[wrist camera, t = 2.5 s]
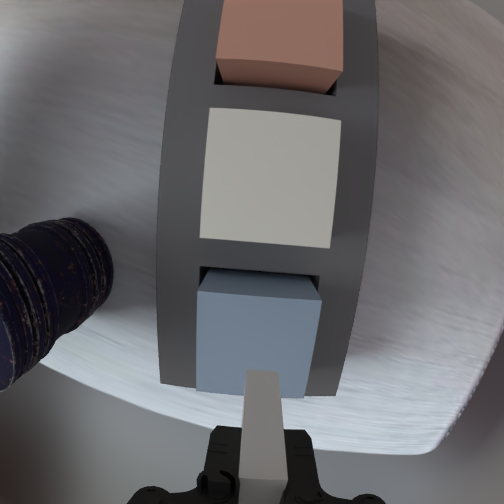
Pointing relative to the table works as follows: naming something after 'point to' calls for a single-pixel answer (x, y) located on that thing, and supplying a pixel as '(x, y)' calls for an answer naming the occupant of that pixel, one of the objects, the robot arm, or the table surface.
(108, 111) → the table surface
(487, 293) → the table surface
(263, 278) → the slate blue key
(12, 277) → the storage jar
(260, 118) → the white key
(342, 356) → the keypad housing
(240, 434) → the robot arm
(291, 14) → the terracotta key
